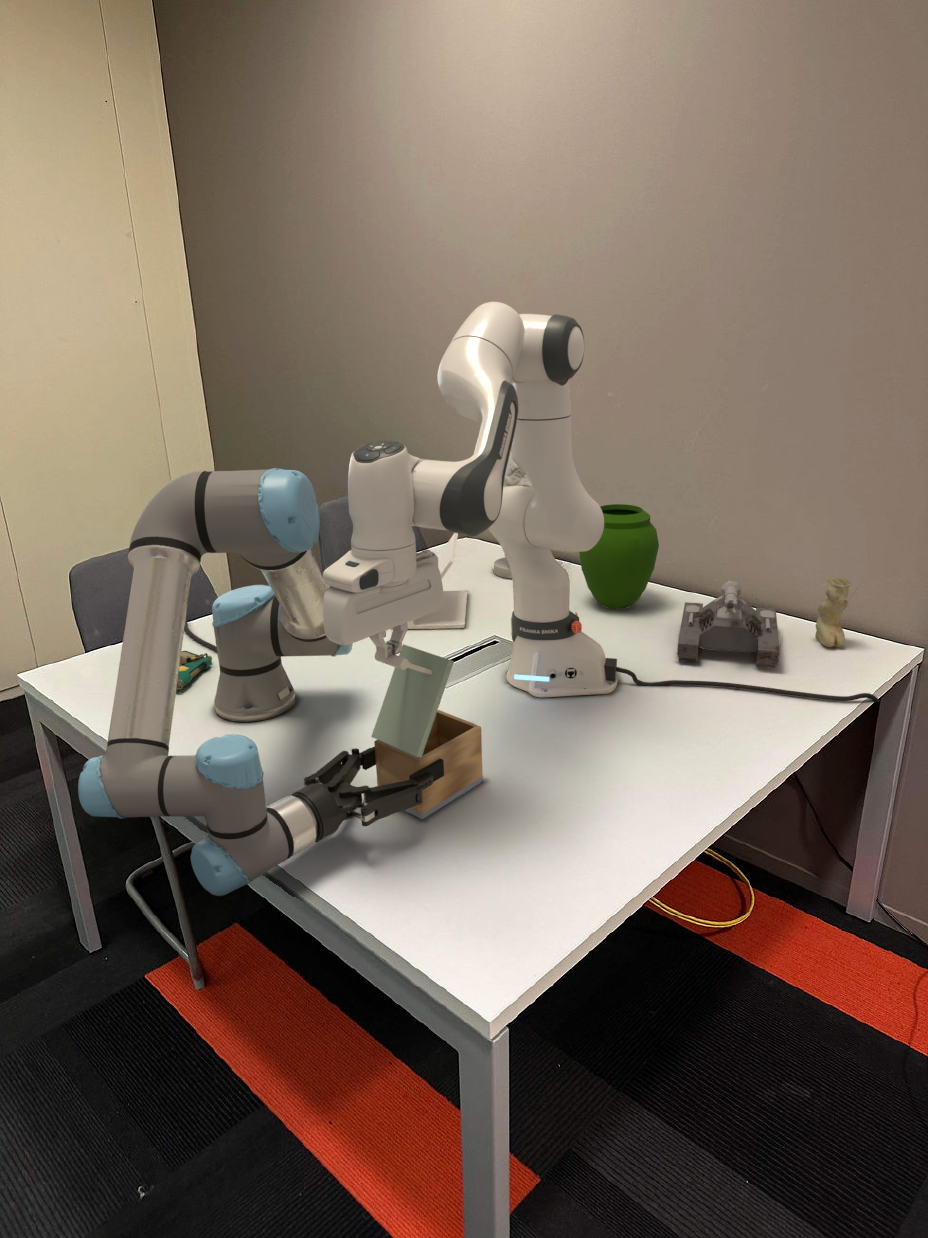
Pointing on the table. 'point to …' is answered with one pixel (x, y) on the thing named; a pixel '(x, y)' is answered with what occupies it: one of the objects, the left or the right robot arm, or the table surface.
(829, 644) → the sculpture
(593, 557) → the vase
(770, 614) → the toy
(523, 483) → the bust sculpture
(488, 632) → the table surface
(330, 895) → the table surface
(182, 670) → the spray gun
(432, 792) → the chest
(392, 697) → the lid
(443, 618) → the tablet stand
